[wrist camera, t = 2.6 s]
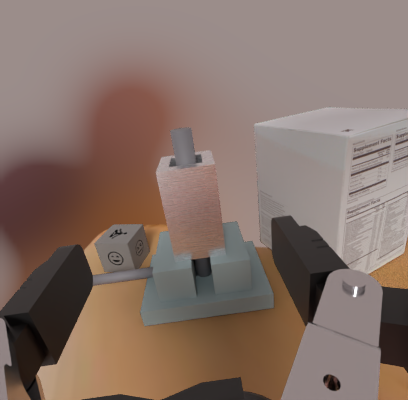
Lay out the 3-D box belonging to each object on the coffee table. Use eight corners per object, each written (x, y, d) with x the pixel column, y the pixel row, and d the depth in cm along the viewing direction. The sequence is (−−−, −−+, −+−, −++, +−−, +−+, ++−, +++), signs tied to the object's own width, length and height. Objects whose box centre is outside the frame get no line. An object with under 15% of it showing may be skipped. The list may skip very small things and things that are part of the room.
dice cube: (121, 251, 42) (113, 224, 40) (150, 251, 41) (142, 224, 39) (104, 272, 38) (94, 243, 35) (136, 273, 36) (127, 243, 34)
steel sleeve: (220, 228, 32) (210, 150, 28) (225, 254, 27) (215, 164, 23) (177, 235, 32) (161, 157, 28) (175, 262, 27) (155, 172, 23)
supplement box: (407, 253, 33) (441, 107, 26) (333, 297, 28) (349, 134, 21) (321, 214, 44) (328, 106, 37) (257, 242, 39) (251, 123, 32)
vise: (252, 252, 37) (243, 113, 29) (273, 307, 28) (268, 127, 20) (106, 273, 37) (58, 140, 29) (80, 335, 28) (-1, 165, 20)
